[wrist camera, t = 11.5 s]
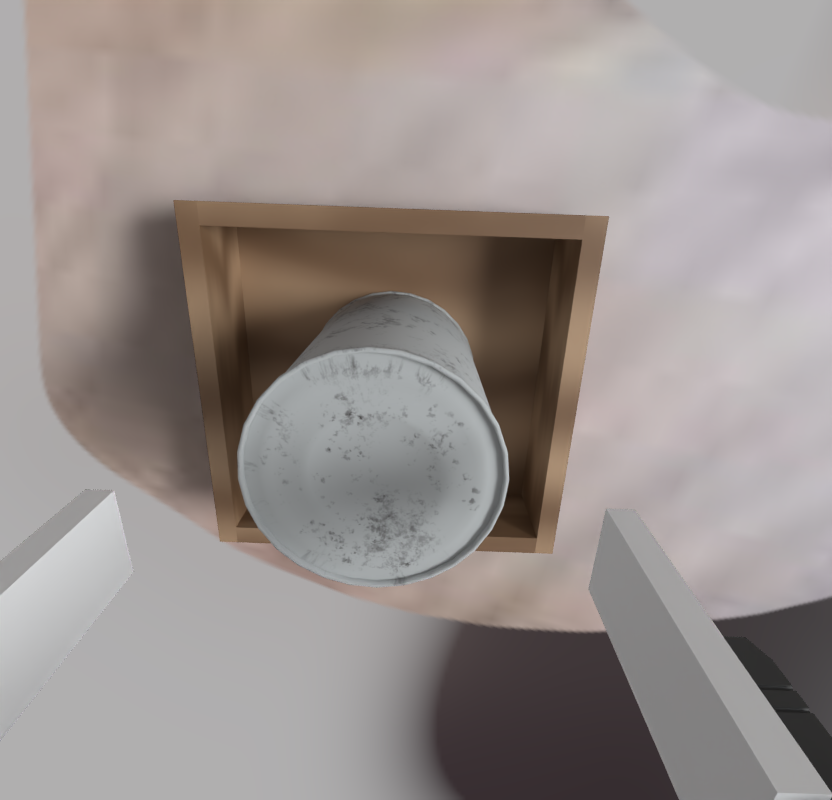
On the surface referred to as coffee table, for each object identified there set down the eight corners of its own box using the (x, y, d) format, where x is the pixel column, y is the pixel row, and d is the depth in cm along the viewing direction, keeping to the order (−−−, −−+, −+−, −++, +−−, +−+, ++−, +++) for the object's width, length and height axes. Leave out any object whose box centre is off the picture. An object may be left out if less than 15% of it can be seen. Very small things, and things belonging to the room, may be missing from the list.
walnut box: (222, 203, 26) (173, 200, 21) (571, 216, 26) (609, 216, 21) (252, 489, 32) (219, 541, 27) (531, 500, 32) (552, 553, 27)
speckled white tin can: (289, 407, 29) (202, 531, 18) (349, 260, 26) (292, 295, 14) (429, 468, 30) (434, 620, 19) (503, 335, 27) (562, 422, 16)
